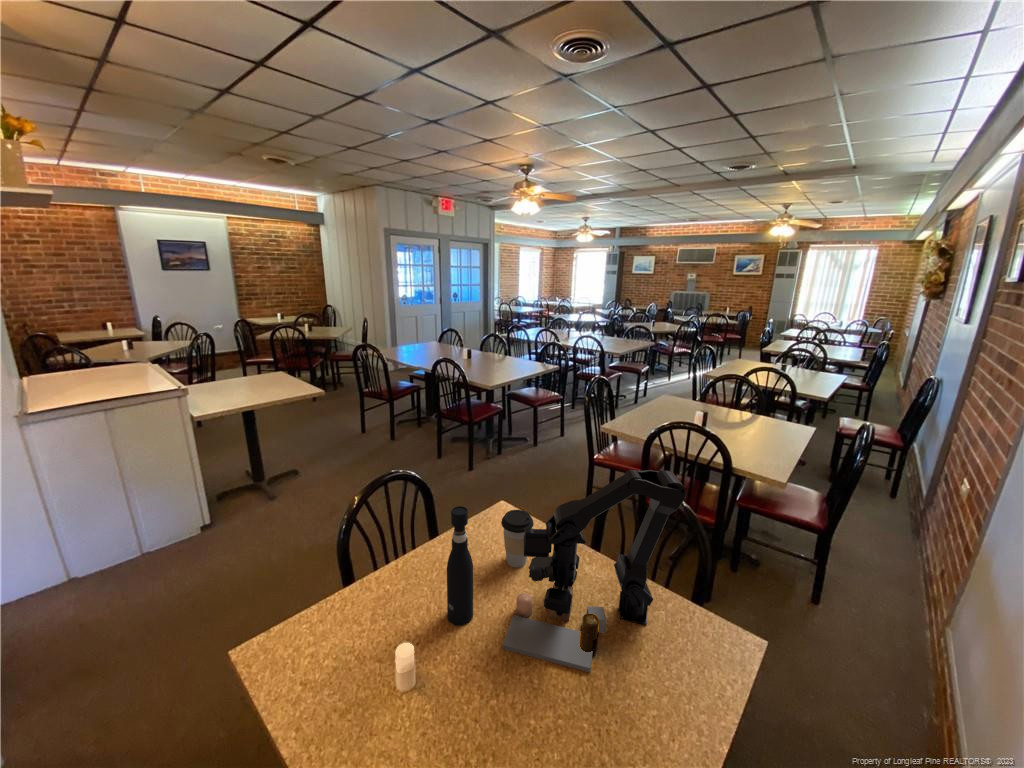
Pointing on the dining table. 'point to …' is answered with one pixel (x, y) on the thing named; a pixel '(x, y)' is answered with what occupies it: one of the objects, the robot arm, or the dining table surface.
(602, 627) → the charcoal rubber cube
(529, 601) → the terracotta cylinder
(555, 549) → the robot arm
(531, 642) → the slate board
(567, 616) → the walnut block
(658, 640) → the dining table surface
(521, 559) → the coffee cup
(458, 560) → the black water bottle
